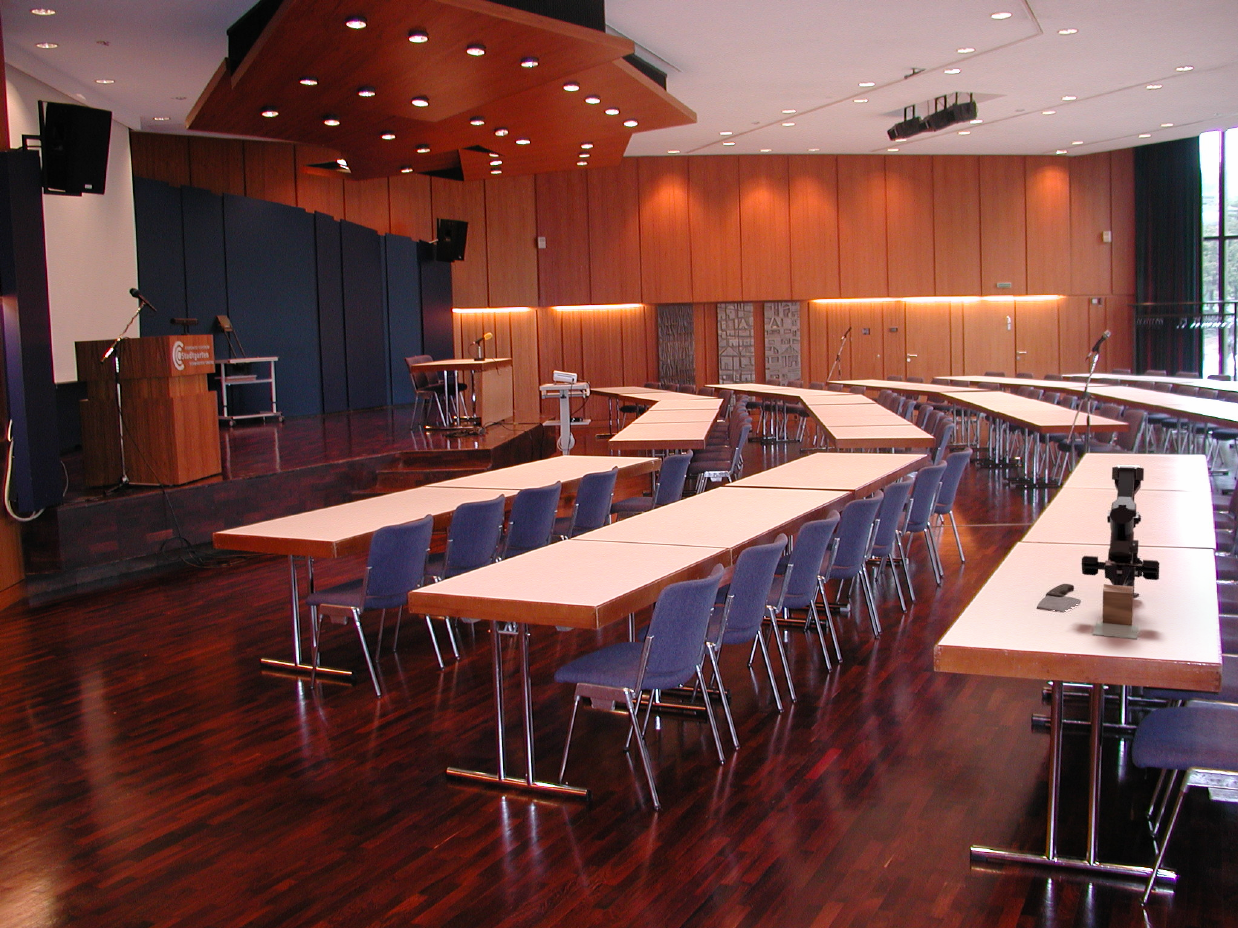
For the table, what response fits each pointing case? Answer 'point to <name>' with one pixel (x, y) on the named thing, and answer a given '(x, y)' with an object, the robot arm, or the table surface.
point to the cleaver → (1058, 599)
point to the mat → (1116, 630)
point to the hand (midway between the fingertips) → (1118, 594)
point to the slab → (1117, 604)
